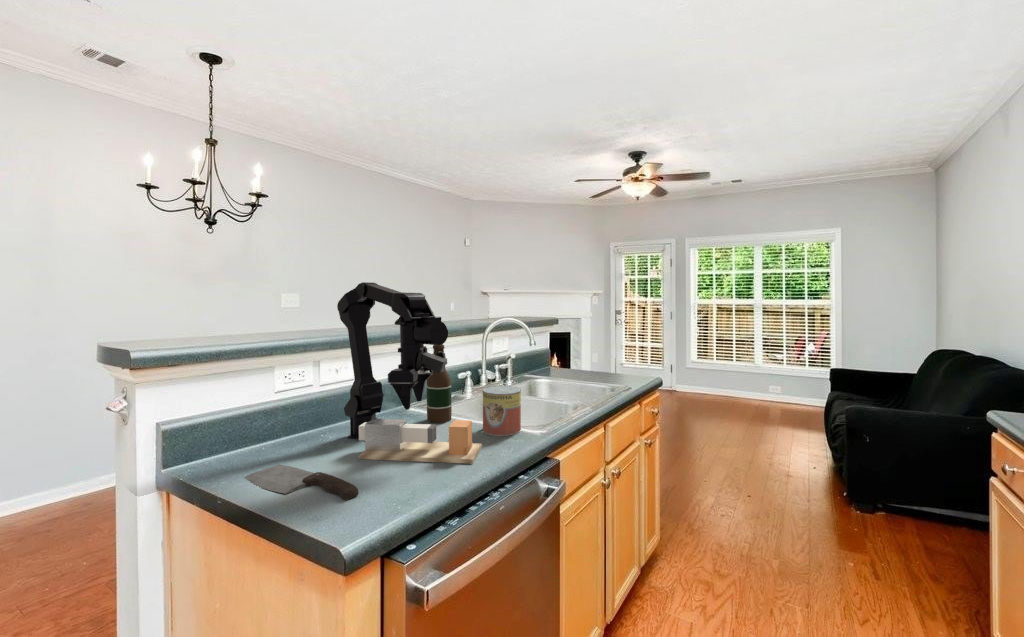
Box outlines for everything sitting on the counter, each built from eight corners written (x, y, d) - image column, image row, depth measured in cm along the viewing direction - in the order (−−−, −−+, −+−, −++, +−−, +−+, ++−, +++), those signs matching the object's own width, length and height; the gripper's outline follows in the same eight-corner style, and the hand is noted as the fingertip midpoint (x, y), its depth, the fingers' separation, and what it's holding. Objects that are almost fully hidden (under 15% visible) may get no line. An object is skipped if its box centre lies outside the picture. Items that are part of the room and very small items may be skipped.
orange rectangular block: (449, 454, 117) (448, 426, 117) (454, 446, 123) (454, 420, 123) (467, 454, 116) (467, 427, 116) (472, 446, 122) (471, 420, 122)
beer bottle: (456, 419, 152) (456, 344, 150) (436, 424, 146) (436, 346, 145) (441, 415, 157) (440, 342, 156) (421, 420, 152) (420, 344, 150)
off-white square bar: (358, 440, 121) (358, 426, 121) (365, 436, 124) (364, 422, 124) (432, 443, 119) (432, 428, 118) (436, 438, 122) (436, 424, 122)
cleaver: (368, 492, 98) (368, 482, 98) (328, 511, 89) (328, 500, 89) (277, 468, 112) (277, 459, 112) (236, 482, 104) (235, 473, 104)
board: (359, 458, 117) (359, 454, 117) (378, 443, 129) (378, 439, 128) (472, 463, 113) (472, 459, 113) (481, 447, 125) (481, 443, 125)
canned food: (476, 433, 137) (476, 392, 137) (491, 423, 148) (491, 384, 147) (513, 437, 133) (513, 395, 133) (526, 427, 144) (526, 387, 143)
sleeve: (365, 450, 120) (364, 424, 120) (373, 443, 125) (373, 418, 125) (400, 451, 119) (399, 425, 118) (407, 444, 124) (406, 419, 124)
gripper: (432, 347, 110) (434, 414, 110) (452, 339, 128) (453, 397, 129) (385, 347, 111) (387, 414, 112) (412, 339, 129) (413, 397, 130)
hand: (413, 405), depth 120 cm, fingers open, 9 cm apart
